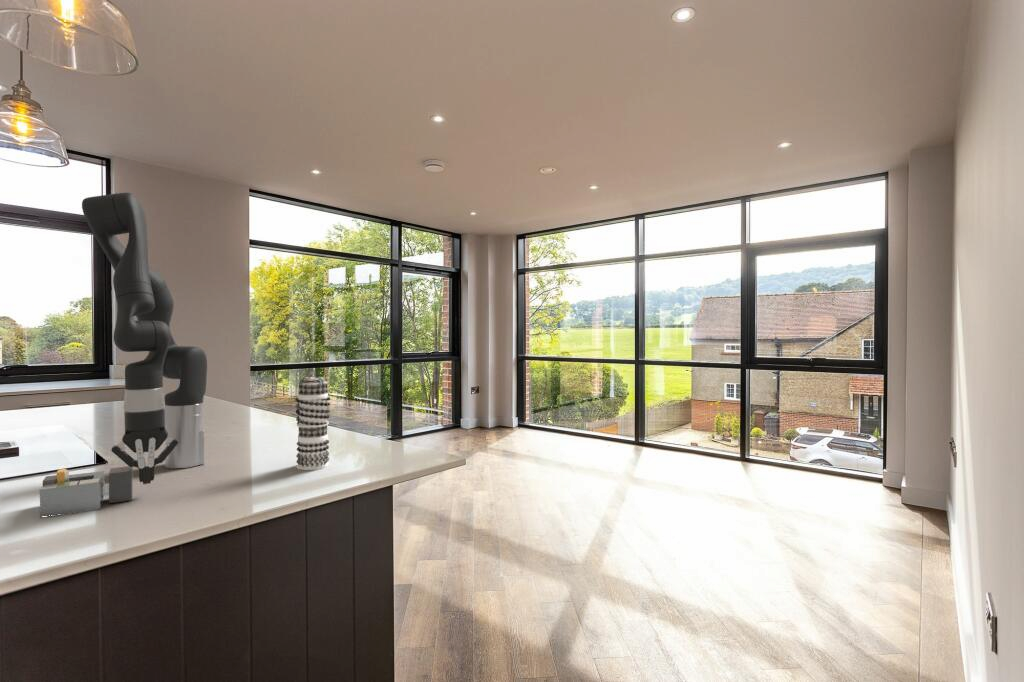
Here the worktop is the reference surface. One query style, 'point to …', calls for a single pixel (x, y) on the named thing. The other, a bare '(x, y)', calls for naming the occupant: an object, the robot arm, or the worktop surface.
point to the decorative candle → (312, 423)
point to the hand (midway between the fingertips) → (146, 483)
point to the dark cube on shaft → (116, 484)
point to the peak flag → (61, 475)
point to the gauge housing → (71, 494)
